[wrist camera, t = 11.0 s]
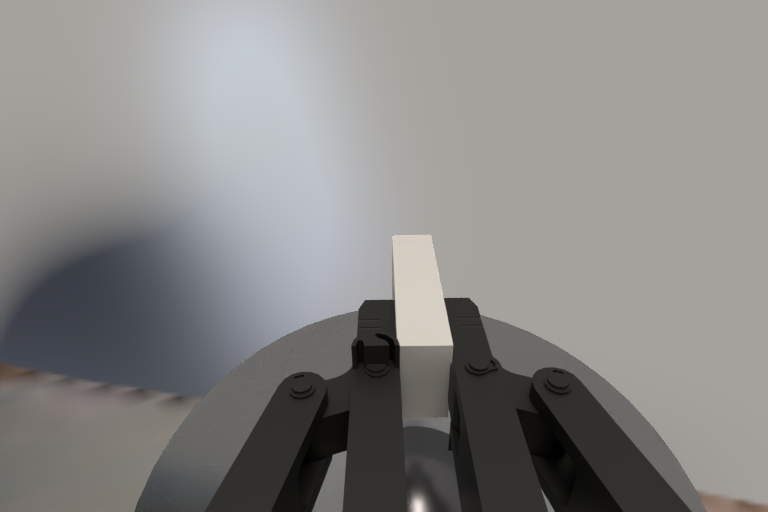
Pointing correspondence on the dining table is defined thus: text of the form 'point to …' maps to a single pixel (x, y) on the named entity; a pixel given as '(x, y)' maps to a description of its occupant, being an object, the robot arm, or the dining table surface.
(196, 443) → the lid
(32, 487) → the dining table surface
